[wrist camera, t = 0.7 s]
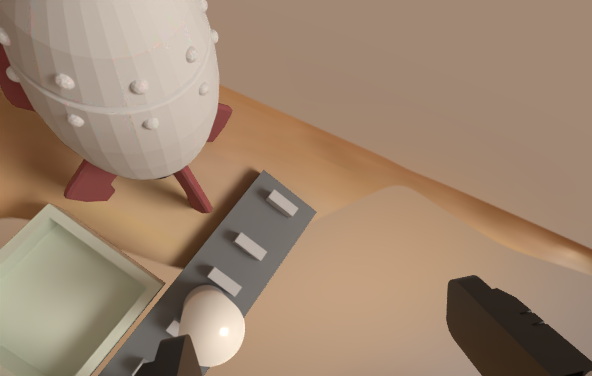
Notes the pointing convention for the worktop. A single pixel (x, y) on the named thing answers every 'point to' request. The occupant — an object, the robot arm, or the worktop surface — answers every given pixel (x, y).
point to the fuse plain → (212, 325)
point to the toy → (117, 85)
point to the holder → (224, 266)
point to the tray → (65, 297)
